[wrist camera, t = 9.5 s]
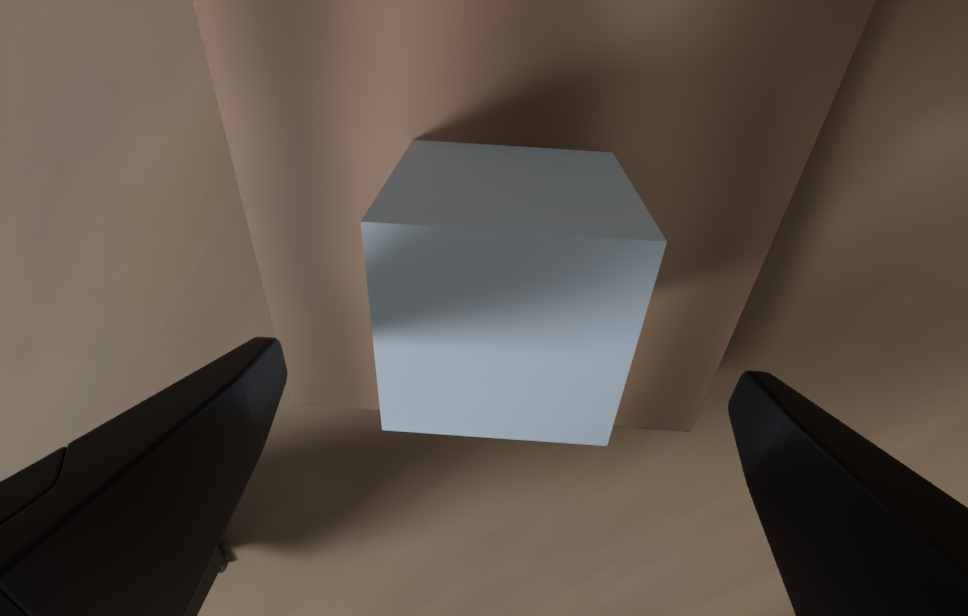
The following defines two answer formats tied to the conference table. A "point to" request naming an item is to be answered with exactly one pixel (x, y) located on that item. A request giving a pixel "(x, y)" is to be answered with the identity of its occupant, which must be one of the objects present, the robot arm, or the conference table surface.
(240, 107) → the walnut base
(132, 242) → the conference table surface
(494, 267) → the slate cube
